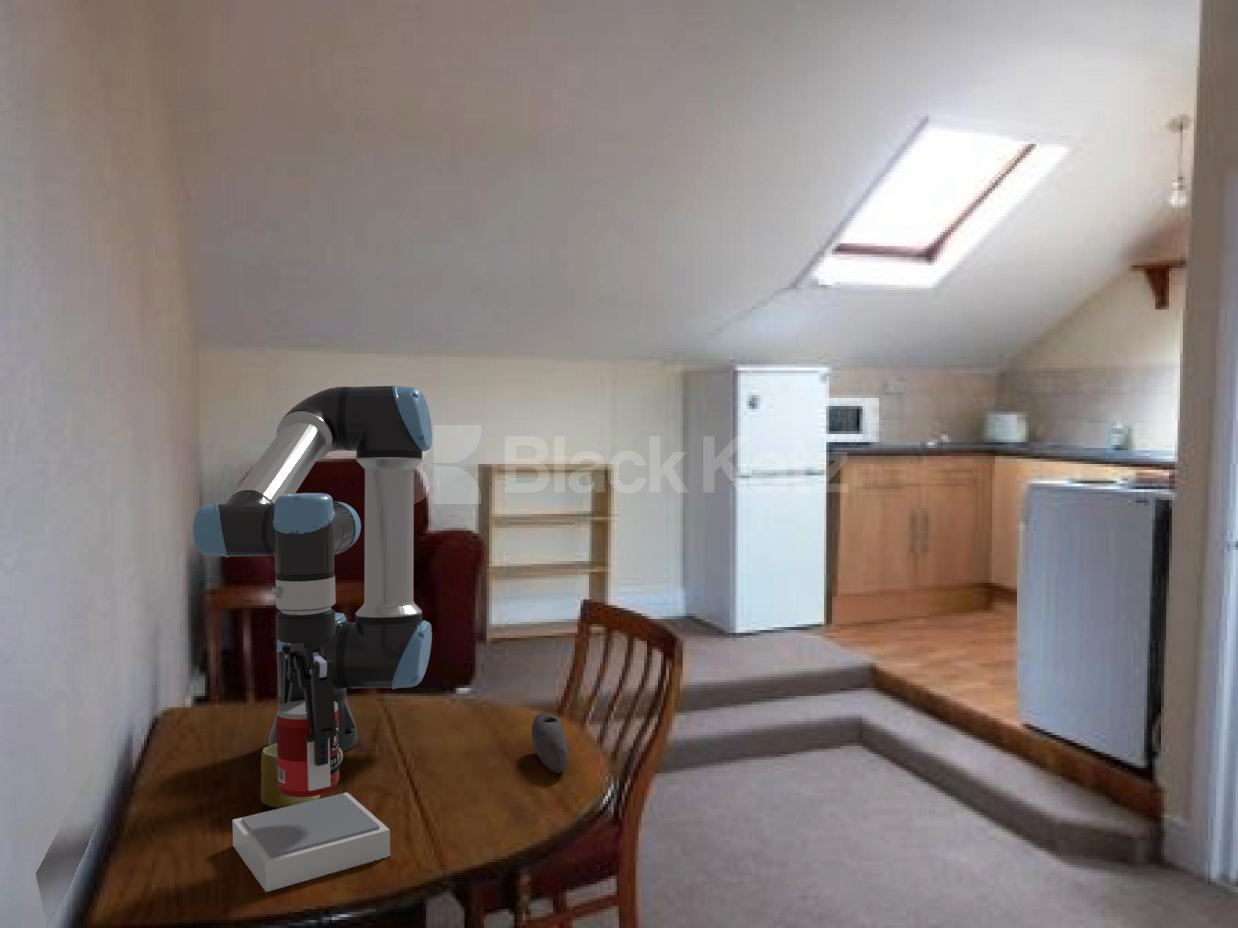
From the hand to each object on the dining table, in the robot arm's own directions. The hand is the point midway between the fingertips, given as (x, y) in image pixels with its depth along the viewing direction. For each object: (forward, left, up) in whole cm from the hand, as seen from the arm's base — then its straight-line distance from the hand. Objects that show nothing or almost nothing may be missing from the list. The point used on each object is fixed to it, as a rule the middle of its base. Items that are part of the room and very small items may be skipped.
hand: (308, 777), depth 125 cm
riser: (0, 0, -10) cm, 10 cm away
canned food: (0, 0, -1) cm, 1 cm away
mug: (-19, +5, -10) cm, 22 cm away
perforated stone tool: (-8, +43, -10) cm, 45 cm away
